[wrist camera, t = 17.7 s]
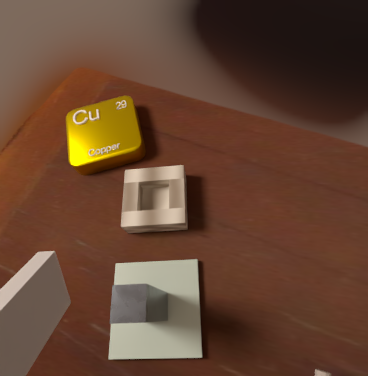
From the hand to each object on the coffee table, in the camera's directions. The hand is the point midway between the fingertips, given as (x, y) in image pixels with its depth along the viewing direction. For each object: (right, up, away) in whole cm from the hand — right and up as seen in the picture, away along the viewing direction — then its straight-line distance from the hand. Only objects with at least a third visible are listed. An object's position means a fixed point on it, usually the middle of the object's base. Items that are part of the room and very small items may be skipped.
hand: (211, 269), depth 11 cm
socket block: (-6, 0, +40) cm, 41 cm away
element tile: (-18, +14, +49) cm, 54 cm away
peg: (-6, -15, +32) cm, 36 cm away
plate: (-6, -16, +33) cm, 37 cm away
